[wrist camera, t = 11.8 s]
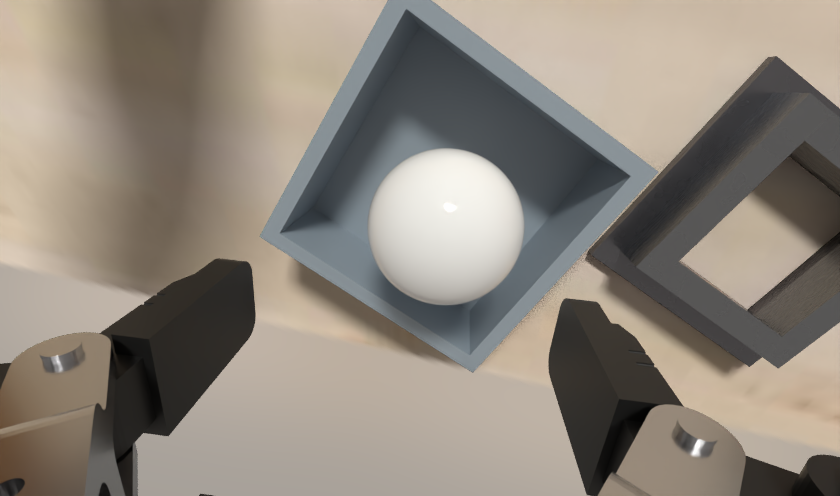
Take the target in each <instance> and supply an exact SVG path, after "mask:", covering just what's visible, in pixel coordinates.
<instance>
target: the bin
mask: <svg viewBox="0 0 840 496" xmlns="http://www.w3.org/2000/svg"><path fill="white" fill-rule="evenodd" d="M438 148H455V149H461V150H466V151H469V152H472V153H475V154H477V155H480V156H482V157H484V158H485V159H487V160H489V161H490V162H492V163H493V164H494V165H496V166H497V167H498V168H499V169H500V170H501V171H502V172H503V173H504V174H505V175H506V176H507V177H508V179H509V180H510V181H511V183H512V184H513V186H514V188H515V190H516V191H517V194H518V196H519V198H520V201H521V204H522V208H523V213H524V221H525V232H524V240H523V245H522V249H521V252H520V255H519V257H518V259H517V262H516V264H515V265H514V267H513V269H512V270H511V272H510V273H509V275H508V276H507V277H506V278H505V279H504V280H503V281H502V282H501V283H500V284H499V285H498V286H497V287H496V288H495V289H493V290H492V291H491V292H489V293H488V294H486V295H484V296H482V297H480V298H478V299H476V300H473V301H470V302H467V303H463V304H458V305H434V304H428V303H424V302H421V301H418V300H416V299H413V298H411V297H409V296H407V295H406V294H404V293H402V292H401V291H400V290H398V289H397V288H396V287H395V286H393V285H392V284H391V283H390V282H389V281H388V280H387V279H386V277H385V276H384V275H383V274H382V272H381V271H380V269H379V267H378V266H377V264H376V262H375V260H374V257H373V255H372V252H371V249H370V245H369V241H368V232H367V223H368V214H369V209H370V205H371V202H372V199H373V196H374V194H375V192H376V190H377V188H378V186H379V185H380V183H381V182H382V180H383V179H384V178H385V177H386V175H387V174H388V173H389V172H390V171H391V170H392V169H393V168H394V167H396V166H397V165H398V164H399V163H401V162H402V161H404V160H405V159H407V158H409V157H411V156H413V155H415V154H417V153H420V152H423V151H427V150H431V149H438ZM657 173H658V171H657V170H655V169H654V168H653V167H651V166H650V165H649V164H647V163H646V162H645V161H643V160H642V159H641V158H639V157H638V156H637V155H635V154H634V153H633V152H631V151H630V150H629V149H627V148H626V147H625V146H624V145H622V144H621V143H620V142H618V141H617V140H616V139H614V138H613V137H612V136H610V135H609V134H608V133H606V132H605V131H604V130H602V129H601V128H600V127H598V126H597V125H596V124H594V123H593V122H592V121H590V120H589V119H588V118H586V117H585V116H584V115H582V114H581V113H580V112H578V111H577V110H576V109H574V108H573V107H572V106H571V105H569V104H568V103H567V102H565V101H564V100H563V99H561V98H560V97H559V96H557V95H556V94H555V93H553V92H552V91H551V90H549V89H548V88H547V87H545V86H544V85H543V84H541V83H540V82H539V81H537V80H536V79H535V78H533V77H532V76H531V75H529V74H528V73H527V72H525V71H524V70H523V69H521V68H520V67H519V66H518V65H516V64H515V63H514V62H512V61H511V60H510V59H508V58H507V57H506V56H504V55H503V54H502V53H500V52H499V51H498V50H496V49H495V48H494V47H492V46H491V45H490V44H488V43H487V42H486V41H484V40H483V39H482V38H480V37H479V36H478V35H476V34H475V33H474V32H472V31H471V30H470V29H468V28H467V27H466V26H465V25H463V24H462V23H461V22H459V21H458V20H457V19H455V18H454V17H453V16H451V15H450V14H449V13H447V12H446V11H445V10H443V9H442V8H441V7H439V6H438V5H437V4H435V3H434V2H433V1H431V0H388V1H387V3H386V5H385V7H384V9H383V10H382V12H381V14H380V16H379V18H378V20H377V21H376V23H375V25H374V27H373V29H372V31H371V32H370V34H369V36H368V38H367V40H366V42H365V43H364V45H363V47H362V49H361V51H360V53H359V55H358V56H357V58H356V60H355V62H354V64H353V66H352V67H351V69H350V71H349V73H348V75H347V77H346V78H345V80H344V82H343V84H342V86H341V88H340V89H339V91H338V93H337V95H336V97H335V99H334V101H333V102H332V104H331V106H330V108H329V110H328V112H327V113H326V115H325V117H324V119H323V121H322V123H321V124H320V126H319V128H318V130H317V132H316V134H315V135H314V137H313V139H312V141H311V143H310V145H309V147H308V148H307V150H306V152H305V154H304V156H303V158H302V159H301V161H300V163H299V165H298V167H297V169H296V170H295V172H294V174H293V176H292V178H291V180H290V181H289V183H288V185H287V187H286V189H285V191H284V193H283V194H282V196H281V198H280V200H279V202H278V204H277V205H276V207H275V209H274V211H273V213H272V215H271V216H270V218H269V220H268V222H267V224H266V226H265V227H264V229H263V231H262V233H261V235H260V237H261V238H262V239H264V240H266V241H267V242H269V243H270V244H272V245H273V246H275V247H277V248H278V249H280V250H281V251H283V252H284V253H286V254H288V255H289V256H291V257H292V258H294V259H295V260H297V261H298V262H300V263H302V264H303V265H305V266H306V267H308V268H309V269H311V270H313V271H314V272H316V273H317V274H319V275H320V276H322V277H324V278H325V279H327V280H328V281H330V282H331V283H333V284H335V285H336V286H338V287H339V288H341V289H342V290H344V291H346V292H347V293H349V294H350V295H352V296H353V297H355V298H356V299H358V300H360V301H361V302H363V303H364V304H366V305H367V306H369V307H371V308H372V309H374V310H375V311H377V312H378V313H380V314H382V315H383V316H385V317H386V318H388V319H389V320H391V321H393V322H394V323H396V324H397V325H399V326H400V327H402V328H404V329H405V330H407V331H408V332H410V333H411V334H413V335H415V336H416V337H418V338H419V339H421V340H422V341H424V342H425V343H427V344H429V345H430V346H432V347H433V348H435V349H436V350H438V351H440V352H441V353H443V354H444V355H446V356H447V357H449V358H451V359H452V360H454V361H455V362H457V363H458V364H460V365H462V366H463V367H465V368H466V369H468V370H469V371H471V372H474V371H475V370H476V369H477V368H478V366H479V365H480V364H481V363H482V362H483V361H484V360H485V359H486V358H487V357H488V356H489V355H490V353H491V352H492V351H493V350H494V349H495V348H496V347H497V346H498V345H499V344H500V343H501V342H502V340H503V339H504V338H505V337H506V336H507V335H508V334H509V333H510V332H511V331H512V330H513V329H514V328H515V326H516V325H517V324H518V323H519V322H520V321H521V320H522V319H523V318H524V317H525V316H526V315H527V313H528V312H529V311H530V310H531V309H532V308H533V307H534V306H535V305H536V304H537V303H538V302H539V300H540V299H541V298H542V297H543V296H544V295H545V294H546V293H547V292H548V291H549V290H550V289H551V288H552V286H553V285H554V284H555V283H556V282H557V281H558V280H559V279H560V278H561V277H562V276H563V275H564V273H565V272H566V271H567V270H568V269H569V268H570V267H571V266H572V265H573V264H574V263H575V262H576V261H577V259H578V258H579V257H580V256H581V255H582V254H583V253H584V252H585V251H586V250H587V249H588V248H589V246H590V245H591V244H592V243H593V242H594V241H595V240H596V239H597V238H598V237H599V236H600V235H601V233H602V232H603V231H604V230H605V229H606V228H607V227H608V226H609V225H610V224H611V223H612V222H613V221H614V219H615V218H616V217H617V216H618V215H619V214H620V213H621V212H622V211H623V210H624V209H625V208H626V206H627V205H628V204H629V203H630V202H631V201H632V200H633V199H634V198H635V197H636V196H637V195H638V193H639V192H640V191H641V190H642V189H643V188H644V187H645V186H646V185H647V184H648V183H649V182H650V181H651V179H652V178H653V177H654V176H655V175H656V174H657Z"/></svg>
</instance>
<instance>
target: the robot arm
mask: <svg viewBox="0 0 840 496" xmlns="http://www.w3.org/2000/svg"><path fill="white" fill-rule="evenodd" d="M254 324H255V302H254V290H253V277H252V269H251V266H250V264H249V263H248V262H245V261H237V260H228V259H215V260H213V261H212V262H211V263H209V264H208V265H206V266H205V267H204V268H202V269H201V270H199V271H198V272H197V273H195V274H193V275H191V276H188V277H186V278H183V279H181V280H178V281H175V282H173V283H171V284H170V285H168V286H167V287H166V288H164V289H163V290H161V291H160V292H158V293H157V296H153V297H151V298H150V299H148V300H147V301H145V302H144V305H140V306H138V307H137V308H136V309H134V310H133V311H131V312H130V313H128V314H127V315H125V316H124V317H122V318H121V319H120V320H118V321H117V322H115V323H114V324H112V325H111V326H110V327H109V328H107V329H105V330H104V331H102V332H101V333H99V334H98V333H90V332H89V333H87V332H86V333H85V332H83V333H73V334H67V335H63V336H59V337H55V338H52V339H49V340H46V341H43V342H41V343H39V344H37V345H34V346H33V347H30V348H29V349H27V350H25V351H24V352H22V353H21V354H20V355H18V356H17V357H16V358H15V359H14V360H13V361H12V363H4V364H0V496H138V489H137V487H138V478H137V476H138V475H137V474H138V470H137V449H136V445H135V441H136V440H137V439H138V438H139V437H140V436H141V435H142V434H143V433H148V434H156V435H163V436H169V435H170V433H171V432H172V431H173V430H174V429H175V427H176V426H177V425H178V424H179V423H180V421H181V420H182V419H183V418H184V417H185V415H186V414H187V413H188V411H189V410H190V409H191V408H192V407H193V406H194V404H195V403H196V402H197V401H198V399H199V398H200V397H201V396H202V395H203V393H204V392H205V391H206V390H207V389H208V387H209V386H210V385H211V384H212V382H213V381H214V380H215V379H216V378H217V376H218V375H219V374H220V373H221V372H222V370H223V369H224V368H225V367H226V366H227V364H228V363H229V362H230V361H231V359H232V358H233V357H234V356H235V355H236V353H237V352H238V351H239V350H240V348H241V347H242V346H243V345H244V344H245V342H246V341H247V340H248V338H249V337H250V336H251V333H252V331H253V328H254ZM645 353H646V352H645V350H644V349H643V348H642V346H641V345H640V343H639V342H638V340H637V339H636V338H635V337H634V336H633V335H632V334H630V333H629V332H628V331H626V330H625V329H624V328H622V327H621V326H620V325H619V324H612V323H611V322H610V321H609V319H608V318H607V316H606V315H605V313H604V311H603V310H602V308H601V307H600V305H599V304H598V303H597V302H593V301H584V300H575V299H567V298H566V299H564V300H563V302H562V304H561V307H560V310H559V315H558V319H557V323H556V327H555V331H554V335H553V339H552V344H551V348H550V352H549V374H550V378H551V382H552V385H553V388H554V391H555V394H556V397H557V401H558V404H559V407H560V410H561V413H562V417H563V420H564V423H565V426H566V430H567V432H568V436H569V439H570V442H571V446H572V449H573V452H574V455H575V459H576V462H577V465H578V468H579V471H580V474H581V478H582V481H583V484H584V487H585V491H586V494H587V495H590V496H840V457H836V456H831V455H816V456H812V457H811V458H809V459H808V461H807V463H806V464H805V466H804V468H803V469H802V471H801V473H800V474H797V473H794V472H791V471H788V470H785V469H782V468H779V467H777V466H774V465H770V464H768V463H765V462H762V461H759V460H756V459H753V458H750V457H748V456H745V452H744V450H743V448H742V446H741V444H740V443H739V442H738V440H737V439H736V438H735V437H734V436H733V435H732V434H731V433H730V432H729V431H728V430H727V429H726V428H724V427H723V426H722V425H720V424H719V423H718V422H716V421H715V420H713V419H711V418H710V417H708V416H706V415H704V414H702V413H700V412H697V411H695V410H692V409H689V408H686V407H684V406H683V405H682V404H681V402H680V401H679V399H678V398H677V396H676V395H675V394H674V392H673V391H672V389H671V388H670V386H669V385H668V383H667V382H666V381H665V379H664V378H663V376H662V375H661V373H660V372H659V371H658V369H657V368H656V367H654V363H653V362H652V360H651V359H650V358H649V356H648V355H646V354H645ZM199 496H212V495H204V494H200V495H199Z"/></svg>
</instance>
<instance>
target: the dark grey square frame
mask: <svg viewBox="0 0 840 496" xmlns="http://www.w3.org/2000/svg"><path fill="white" fill-rule="evenodd" d="M788 156H790V157H791V158H793V159H794V160H795V161H796V162H798V163H799V164H800V165H801V166H803V167H804V168H805V169H806V170H808V171H809V172H810V173H811V174H813V175H814V176H815V177H816V178H818V179H819V180H820V181H821V182H823V183H824V184H825V185H826V186H828V187H829V188H830V189H831V190H833V191H834V192H835V193H836V194H838V195H839V196H840V109H839V108H838V107H837V106H836V105H834V104H833V103H832V102H831V101H830V100H828V99H827V98H826V97H825V96H824V95H822V94H821V93H820V92H819V91H818V90H816V89H815V88H814V87H813V86H812V85H810V84H809V83H808V82H807V81H806V80H804V79H803V78H802V77H801V76H800V75H798V74H797V73H796V72H795V71H794V70H792V69H791V68H790V67H789V66H788V65H786V64H785V63H784V62H783V61H782V60H780V59H779V58H778V57H777V56H775V57H768V58H767V59H766V60H765V61H764V62H763V63H762V65H761V66H760V67H759V68H758V69H757V70H756V71H755V72H754V73H753V74H752V75H751V76H750V77H749V79H748V80H747V81H746V82H745V83H744V84H743V85H742V86H741V87H740V88H739V89H738V90H737V91H736V93H735V94H734V95H733V96H732V97H731V98H730V99H729V100H728V101H727V102H726V103H725V104H724V105H723V107H722V108H721V109H720V110H719V111H718V112H717V113H716V114H715V115H714V116H713V117H712V118H711V119H710V121H709V122H708V123H707V124H706V125H705V126H704V127H703V128H702V129H701V130H700V131H699V132H698V133H697V135H696V136H695V137H694V138H693V139H692V140H691V141H690V142H689V143H688V144H687V145H686V146H685V147H684V149H683V150H682V151H681V152H680V153H679V154H678V155H677V156H676V157H675V158H674V159H673V160H672V161H671V163H670V164H669V165H668V166H667V167H666V168H665V169H664V170H663V171H662V172H661V173H660V174H659V175H658V177H657V178H656V179H655V180H654V181H653V182H652V183H651V184H650V185H649V186H648V187H647V188H646V189H645V191H644V192H643V193H642V194H641V195H640V196H639V197H638V198H637V199H636V200H635V201H634V202H633V203H632V205H631V206H630V207H629V208H628V209H627V210H626V211H625V212H624V213H623V214H622V215H621V216H620V217H619V219H618V220H617V221H616V222H615V223H614V224H613V225H612V226H611V227H610V228H609V229H608V230H607V231H606V233H605V234H604V235H603V236H602V237H601V238H600V239H599V240H598V241H597V242H596V243H595V244H594V245H593V247H592V248H591V249H590V250H589V251H588V252H589V253H590V254H591V255H592V256H593V257H595V258H596V259H598V260H599V261H600V262H602V263H603V264H605V265H606V266H607V267H609V268H610V269H612V270H613V271H615V272H616V273H617V274H619V275H620V276H622V277H623V278H624V279H626V280H627V281H629V282H630V283H632V284H633V285H634V286H636V287H637V288H639V289H640V290H641V291H643V292H644V293H646V294H647V295H648V296H650V297H651V298H653V299H654V300H656V301H657V302H658V303H660V304H661V305H663V306H664V307H665V308H667V309H668V310H670V311H671V312H673V313H674V314H675V315H677V316H678V317H680V318H681V319H682V320H684V321H685V322H687V323H688V324H690V325H691V326H692V327H694V328H695V329H697V330H698V331H699V332H701V333H702V334H704V335H705V336H706V337H708V338H709V339H711V340H712V341H714V342H715V343H716V344H718V345H719V346H721V347H722V348H723V349H725V350H726V351H728V352H729V353H731V354H732V355H733V356H735V357H736V358H738V359H739V360H740V361H742V362H743V363H745V364H746V365H748V366H749V367H750V366H751V365H753V364H754V363H755V362H756V361H758V360H759V359H760V358H762V357H763V358H764V359H766V360H767V361H769V362H770V363H771V364H773V365H774V366H776V367H777V368H780V367H781V366H782V365H784V364H785V363H786V362H788V361H789V360H790V359H792V358H793V357H794V356H796V355H797V354H798V353H800V352H801V351H802V350H803V349H805V348H806V347H807V346H809V345H810V344H811V343H813V342H814V341H815V340H817V339H818V338H819V337H821V336H822V335H823V334H825V333H826V332H827V331H829V330H830V329H831V328H833V327H834V326H835V325H837V324H838V323H839V322H840V233H839V234H838V235H837V236H835V237H834V238H833V239H832V240H831V241H829V242H828V243H827V244H826V245H825V246H823V247H822V248H821V249H820V250H819V251H817V252H816V253H815V254H814V255H813V256H811V257H810V258H809V259H808V260H807V261H806V262H804V263H803V264H802V265H801V266H800V267H798V268H797V269H796V270H795V271H794V272H792V273H791V274H790V275H789V276H788V277H786V278H785V279H784V280H783V281H782V282H781V283H779V284H778V285H777V286H776V287H775V288H773V289H772V290H771V291H770V292H769V293H767V294H766V295H765V296H764V297H763V298H761V299H760V300H759V301H758V302H757V303H755V304H754V305H753V306H752V307H751V308H750V309H748V310H747V309H746V308H744V307H743V306H742V305H740V304H739V303H738V302H736V301H735V300H733V299H732V298H731V297H729V296H728V295H727V294H725V293H724V292H722V291H721V290H720V289H718V288H717V287H716V286H714V285H713V284H711V283H710V282H709V281H707V280H706V279H705V278H703V277H702V276H700V275H699V274H698V273H696V272H695V271H694V270H692V269H691V268H690V267H688V266H687V265H685V264H684V263H683V262H681V261H680V259H681V258H683V257H684V256H685V255H686V254H687V253H688V252H689V251H690V250H691V249H692V248H693V247H694V246H695V245H696V244H697V243H698V242H699V241H700V240H701V239H702V238H703V237H704V236H706V235H707V234H708V233H709V232H710V231H711V230H712V229H713V228H714V227H715V226H716V225H717V224H718V223H719V222H720V221H721V220H722V219H723V218H724V217H725V216H726V215H727V214H728V213H730V212H731V211H732V210H733V209H734V208H735V207H736V206H737V205H738V204H739V203H740V202H741V201H742V200H743V199H744V198H745V197H746V196H747V195H748V194H749V193H750V192H751V191H752V190H754V189H755V188H756V187H757V186H758V185H759V184H760V183H761V182H762V181H763V180H764V179H765V178H766V177H767V176H768V175H769V174H770V173H771V172H772V171H773V170H774V169H775V168H776V167H778V166H779V165H780V164H781V163H782V162H783V161H784V160H785V159H786V158H787V157H788Z"/></svg>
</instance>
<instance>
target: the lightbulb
mask: <svg viewBox="0 0 840 496" xmlns="http://www.w3.org/2000/svg"><path fill="white" fill-rule="evenodd" d="M367 232H368V241H369V245H370V249H371V252H372V255H373V257H374V260H375V262H376V264H377V266H378V267H379V269H380V271H381V272H382V274H383V275H384V276H385V277H386V279H387V280H388V281H389V282H390V283H391V284H392V285H393V286H395V287H396V288H397V289H398V290H400V291H401V292H402V293H404V294H406V295H407V296H409V297H411V298H413V299H416V300H418V301H421V302H424V303H428V304H434V305H458V304H463V303H467V302H470V301H473V300H476V299H478V298H480V297H482V296H484V295H486V294H488V293H489V292H491V291H492V290H493V289H495V288H496V287H497V286H498V285H499V284H500V283H501V282H502V281H503V280H504V279H505V278H506V277H507V276H508V275H509V273H510V272H511V270H512V269H513V267H514V265H515V264H516V262H517V259H518V257H519V255H520V252H521V249H522V245H523V240H524V232H525V221H524V213H523V208H522V204H521V201H520V198H519V196H518V194H517V191H516V190H515V188H514V186H513V184H512V183H511V181H510V180H509V179H508V177H507V176H506V175H505V174H504V173H503V172H502V171H501V170H500V169H499V168H498V167H497V166H496V165H494V164H493V163H492V162H490V161H489V160H487V159H485V158H484V157H482V156H480V155H477V154H475V153H472V152H469V151H466V150H461V149H455V148H438V149H431V150H427V151H423V152H420V153H417V154H415V155H413V156H411V157H409V158H407V159H405V160H404V161H402V162H401V163H399V164H398V165H397V166H396V167H394V168H393V169H392V170H391V171H390V172H389V173H388V174H387V175H386V177H385V178H384V179H383V180H382V182H381V183H380V185H379V186H378V188H377V190H376V192H375V194H374V196H373V199H372V202H371V205H370V209H369V214H368V223H367Z"/></svg>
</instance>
